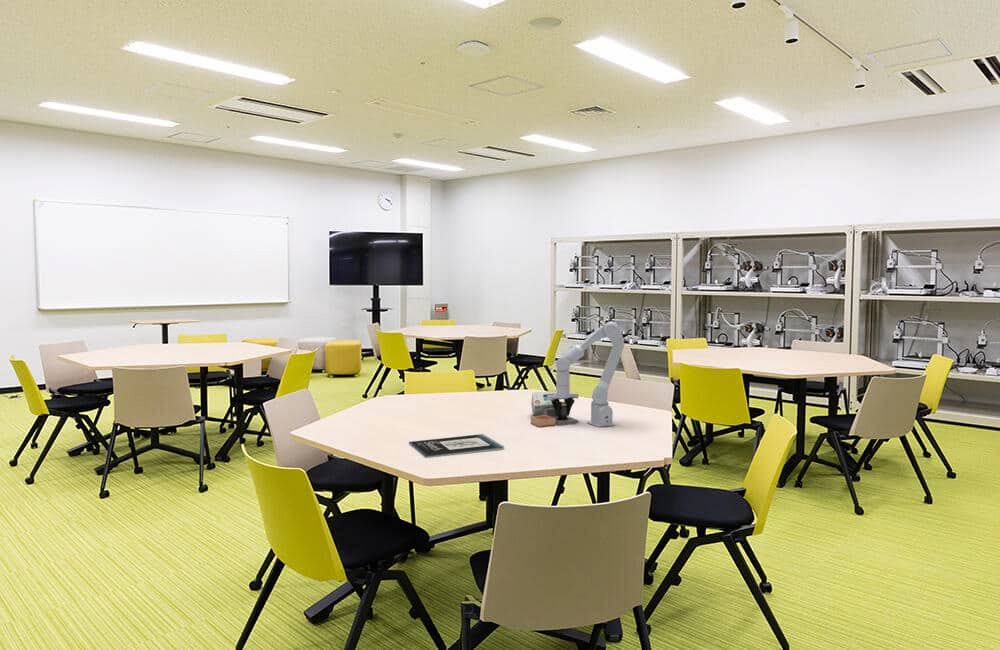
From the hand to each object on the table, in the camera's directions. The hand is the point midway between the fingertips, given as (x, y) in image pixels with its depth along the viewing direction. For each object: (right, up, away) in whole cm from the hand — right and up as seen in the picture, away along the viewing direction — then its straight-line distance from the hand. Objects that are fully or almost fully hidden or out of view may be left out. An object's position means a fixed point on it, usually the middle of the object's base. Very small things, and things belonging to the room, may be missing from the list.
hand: (562, 415), depth 291 cm
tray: (-9, -3, -5) cm, 10 cm away
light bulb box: (-7, +1, +15) cm, 17 cm away
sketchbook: (-43, -6, -42) cm, 61 cm away
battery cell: (0, -2, 0) cm, 2 cm away
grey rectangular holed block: (-1, -3, +2) cm, 3 cm away
